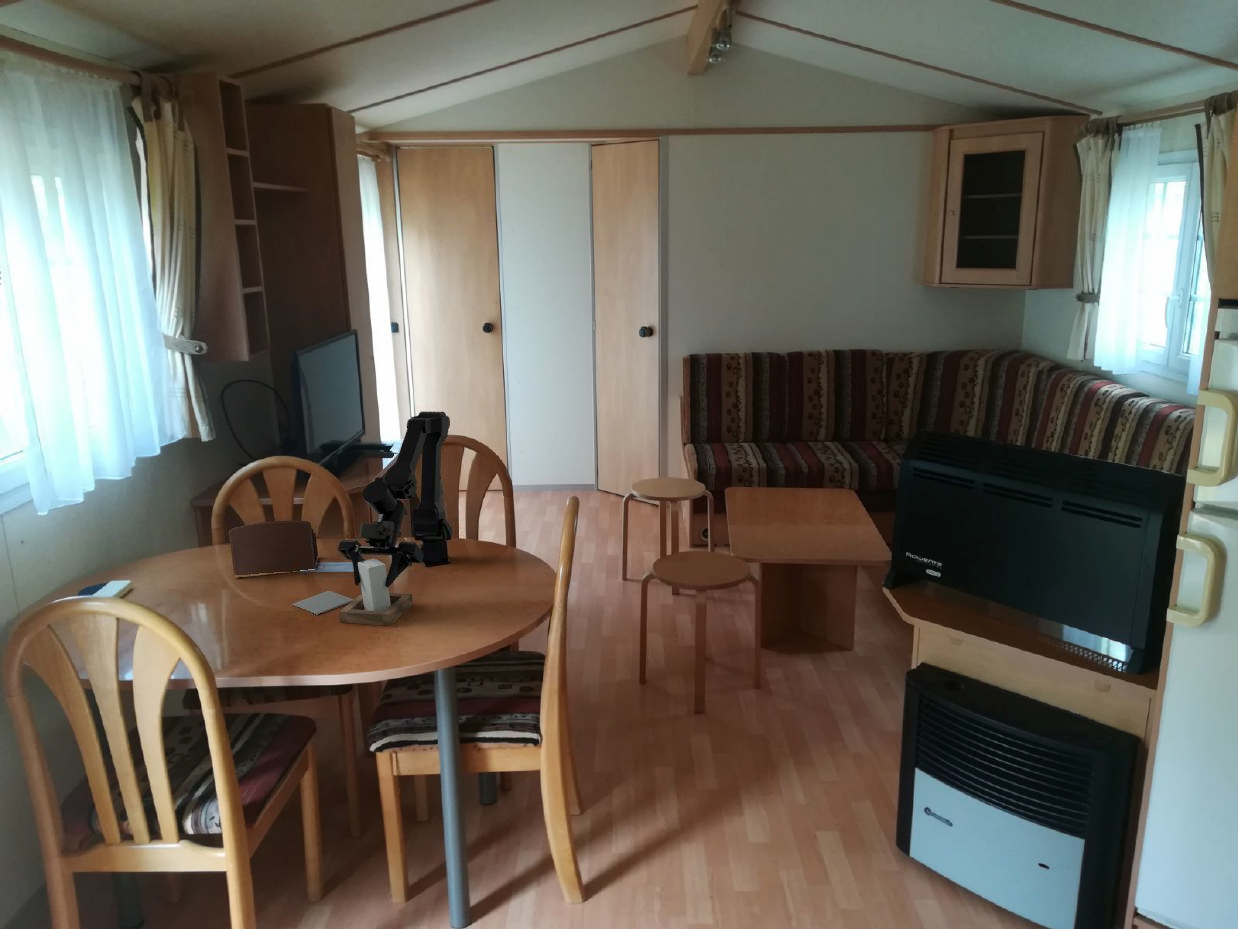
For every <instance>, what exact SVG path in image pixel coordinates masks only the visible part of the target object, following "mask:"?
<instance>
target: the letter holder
mask: <svg viewBox="0 0 1238 929" xmlns="http://www.w3.org/2000/svg"><path fill="white" fill-rule="evenodd" d="M228 537H229V546H230V553H231V559H232V567H233V576H234V575H248V574H249V575H250V574H259V573H274V572H293V571H300V570H308V569H316V570H317V567H318V566H317V565H318V563H317V561H318V560H319V551H318V544H317V543H318V542H317V535H316V532H315V531H314V529H313V528H312V524H311V523H310V521H309V520H308V521H307V520H271V521H262V522H256V523H251V524H244V525H242V526H241V525H240V526H236V527H233V528H231V529H230V530H229V532H228ZM318 562H319V561H318ZM316 566H317V567H316Z"/></svg>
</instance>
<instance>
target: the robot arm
mask: <svg viewBox="0 0 1238 929" xmlns="http://www.w3.org/2000/svg"><path fill="white" fill-rule="evenodd" d="M450 427H451V418H450V417H449V416H448V415H447V414H446V412H445V411H422V410H421V411H419V413H418V415H414V416H411V417H410V418H409V419H408V420H407V422H406V432H405V433H404V438H403V440H402V444H401V447H400V449H399V452H398V456H397V458H396V461H395V464H393V465H392V466H391V467H389V468H388V469H387V471H386V472H385V474H384V476H381V477H380V476H378V477H377V476H376V477H375V478H374V480H373V481H372V482H370V483H368V484H367V485H366V486H365V487H364V488H363V490H362V497H363V500H364V501H365V502H366V503H367V504H368V505H369V507H370V508H371V509H372V510H373V512H374V513H376V514H377V517H376V520H375V521H372V522H371V523H360V529H359V539H365V540H364V541H365V543H367V544H369V545H362V544H361V543H360V542H359V541H358V540H357V539H342V540H340V541H339V543H338V546H337V549H336V550H337V551H338V552H339V553H340V554H341V555H342V556H343V557H344V559H346V560H348V561H351V563H352V567H353V569H352V570H353V578H354V585H355V586H356V587H358V586H359V585H360V584H361V582H360V575H359V568H358V562H361V561H365V560H366V559H365V555H368V556H369V555H370V556H371V555H372V556H389V557H390V556H391V563H390V566H389V569H388V572H387V579H386V584H385V586H386V587H388V588H389V587H390V586H392V584H393V583H394V581H396V579H397V578H398V577H399V576H400V575H401V574H402V572H404V571H405V570H406V569H408V567H412V566H413V564H422V563H423V565H424V567H432V566H438V565H443V564H444V565H445V564H449V563H451V560H450V558H449V553H448V552H449V551H448V541H451V540H452V537H453V527H452V526H451V525H450V523H449V522H448V520H447V519H446V511H445V509H444V507H443V506H442V504H441V502H440V500H441V499H440V498H441V497H440V494H441V492H440V491H441V461H442V446H443V444H444V442H445V441H446V439H447V438H448V437H449V429H450ZM420 457H421V469H420V471H421V472H420V473H421V475H420V501H419V503H418V505H417V507H415V508H413V510H412V520H411V526H410V527H411V530H412V534H413V537H414V542H412V541H400V542H399V543H398V538H402V537H401V536H402V532H401V528H402V525H403V524H402V523H403V519H404V517H405V516H408V514H409V512H408V509H407V508H406V504H405V503H403V502H402V501H401V500H407V501H408V500H410V499H413V498H414V495H416V493H417V491H418V490H417V489H418V487H417V484H418V480H417V477H416V474H415V473H416V468H417V466H418V462H419V460H420ZM417 541H418V542H419V541H420V544H419V545H418V544H417ZM397 543H398V546H397ZM431 565H432V566H431Z"/></svg>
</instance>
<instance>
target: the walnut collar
mask: <svg viewBox="0 0 1238 929" xmlns="http://www.w3.org/2000/svg"><path fill="white" fill-rule="evenodd" d="M389 596H390V603H391V607H390V608H389V609H388V610H386V611H371V610H364V603H363V596H362V593H360V594H359V595H358V596H356V597H355V598H354V600H353V601H352V602H351V603H348V604H346V606H344V607H343V608H342V609H340V611H339V612H338V616H339V623H341V624H355V625H356V624H357V625H376V626H392V625H393V623H394V624H395V622H396V621H397V620H398V619H399V618H400V617H401V616H403V615H404V613H405V612H406V611H408V610H409V609H410V608H411V607H412V606H413V605H414V600H413V593H412V594H411V593H397V592H389Z"/></svg>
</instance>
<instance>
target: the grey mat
mask: <svg viewBox="0 0 1238 929" xmlns="http://www.w3.org/2000/svg"><path fill="white" fill-rule="evenodd" d="M354 599H355V598H354ZM354 599H353V598H351V597H349V596H345V595H342V594H340V593H337V592H335V591H331V590H327V591H324V592H321V593H319V594H315V595H313V596H310V597H307V598H305V599H302V600H299V601H296V602H294V603H291V606H292V605H294V606H297V607H300V608H302V609H306V610H307V611H310V612H311V613H310V612H309V613H310V614H312V613H314V614H313V615H315V614H316V615H315V616H319V615H318V614H320V613H322V614H324V612H325V613H327V612H330V611H332V609H333V610H336V609H338V608H340V607H343V606H345V605H346V606H347V605H348V604H349V603H351V602H352V601H353V600H354ZM294 606H293V607H294ZM297 607H296V608H297ZM302 609H301V610H302ZM329 610H330V611H329ZM307 611H306V612H307ZM320 615H321V614H320Z"/></svg>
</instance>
